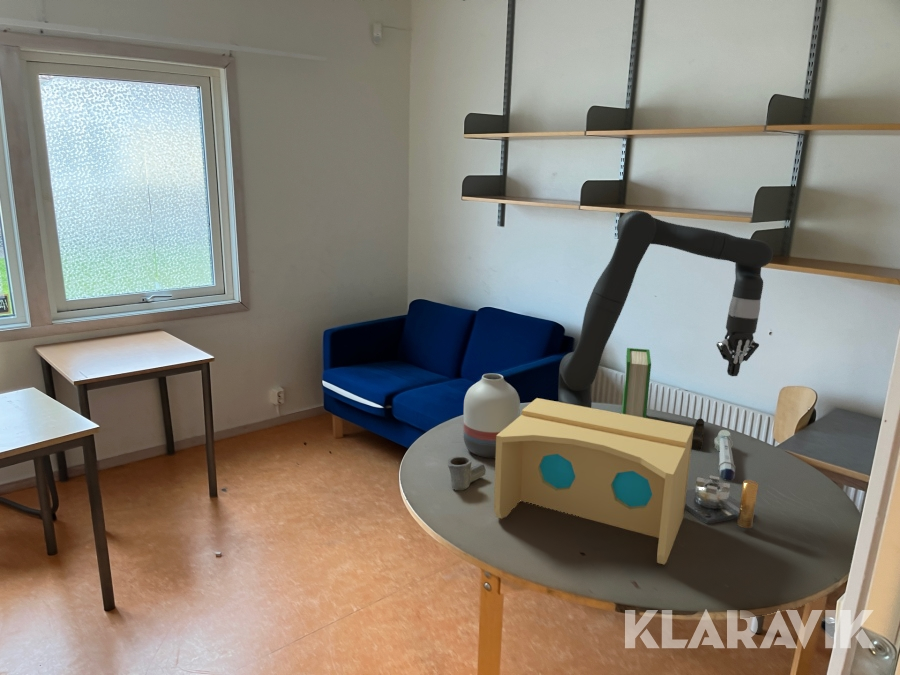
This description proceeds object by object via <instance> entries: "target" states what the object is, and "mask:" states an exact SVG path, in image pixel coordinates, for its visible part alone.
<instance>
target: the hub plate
mask: <svg viewBox="0 0 900 675" xmlns="http://www.w3.org/2000/svg"><path fill="white" fill-rule="evenodd" d="M695 489H696V488H693V489H687V490H686V498H685V507H684V510H685V509H686V510H687V511H688V512H689V513H691V514H692V515H693V516H695V517H696V518H698V519H699V520H700V521H701V522H703V523H704V524H705V525H710V524H714V523H715V524H716V523H720V522H725V521H730V520H736V519H738V516H736V515H735V514H733V513H732V512H731V511H729V510H728V509H726V508H721V509H713V508H708V507H705V506H702V505H700V504H699V503H697V502H696V501H695V499H694V497H695ZM728 501H729V502H730V503H732V504H733V505H735V506H736V507H738V508H739V509H740V502H741V501H738V500H737V499H735V498H734V497H732V496H731V495H729V499H728Z"/></svg>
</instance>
